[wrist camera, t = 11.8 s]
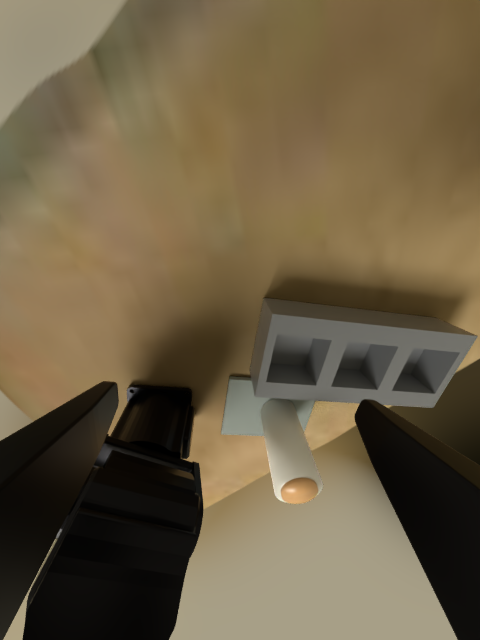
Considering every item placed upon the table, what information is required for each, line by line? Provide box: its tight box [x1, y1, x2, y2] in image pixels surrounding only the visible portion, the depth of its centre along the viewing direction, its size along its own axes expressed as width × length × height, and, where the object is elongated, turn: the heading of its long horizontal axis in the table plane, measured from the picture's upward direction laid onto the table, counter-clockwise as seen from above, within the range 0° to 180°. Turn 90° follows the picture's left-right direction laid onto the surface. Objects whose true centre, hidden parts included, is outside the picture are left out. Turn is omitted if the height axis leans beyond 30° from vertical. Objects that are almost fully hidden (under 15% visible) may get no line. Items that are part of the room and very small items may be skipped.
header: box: [250, 298, 478, 408], centre depth 21 cm, size 18×8×4 cm, turn 82°
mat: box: [221, 376, 315, 436], centre depth 25 cm, size 10×8×1 cm
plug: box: [260, 398, 323, 504], centre depth 22 cm, size 4×4×8 cm
